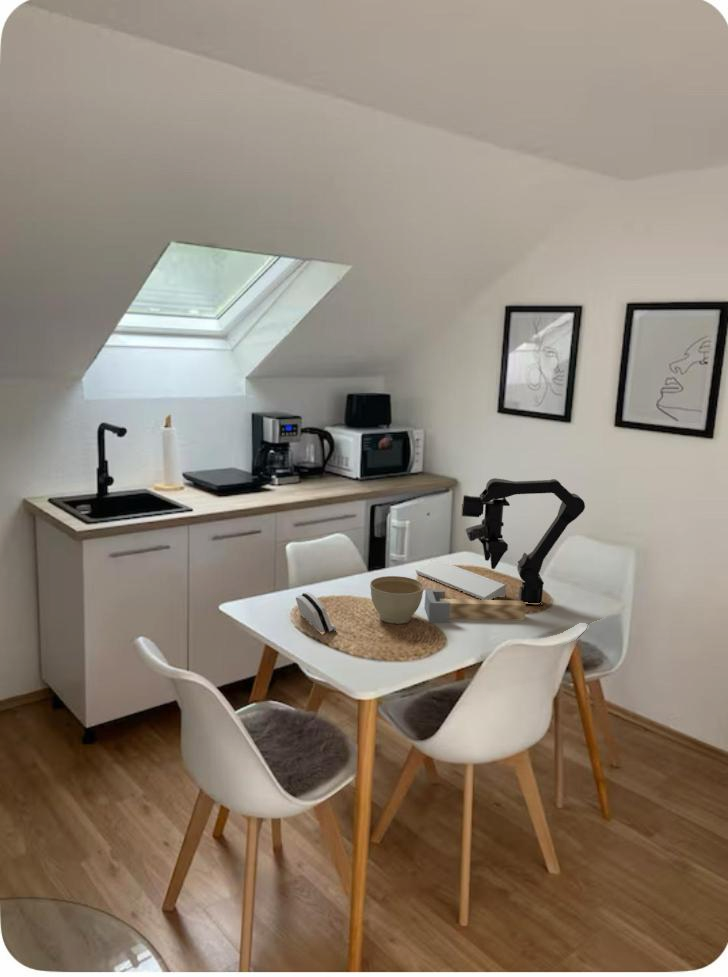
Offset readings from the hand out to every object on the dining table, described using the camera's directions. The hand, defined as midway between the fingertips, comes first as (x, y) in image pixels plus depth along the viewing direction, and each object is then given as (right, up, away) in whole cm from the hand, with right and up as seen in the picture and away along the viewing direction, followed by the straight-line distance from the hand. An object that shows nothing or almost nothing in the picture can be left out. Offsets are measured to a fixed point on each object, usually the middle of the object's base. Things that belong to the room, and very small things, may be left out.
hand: (489, 564), depth 245 cm
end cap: (-19, -14, -14) cm, 27 cm away
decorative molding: (-8, -9, +16) cm, 20 cm away
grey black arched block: (-56, -15, -25) cm, 63 cm away
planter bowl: (-32, -15, -18) cm, 39 cm away
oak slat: (-5, -15, -13) cm, 20 cm away
